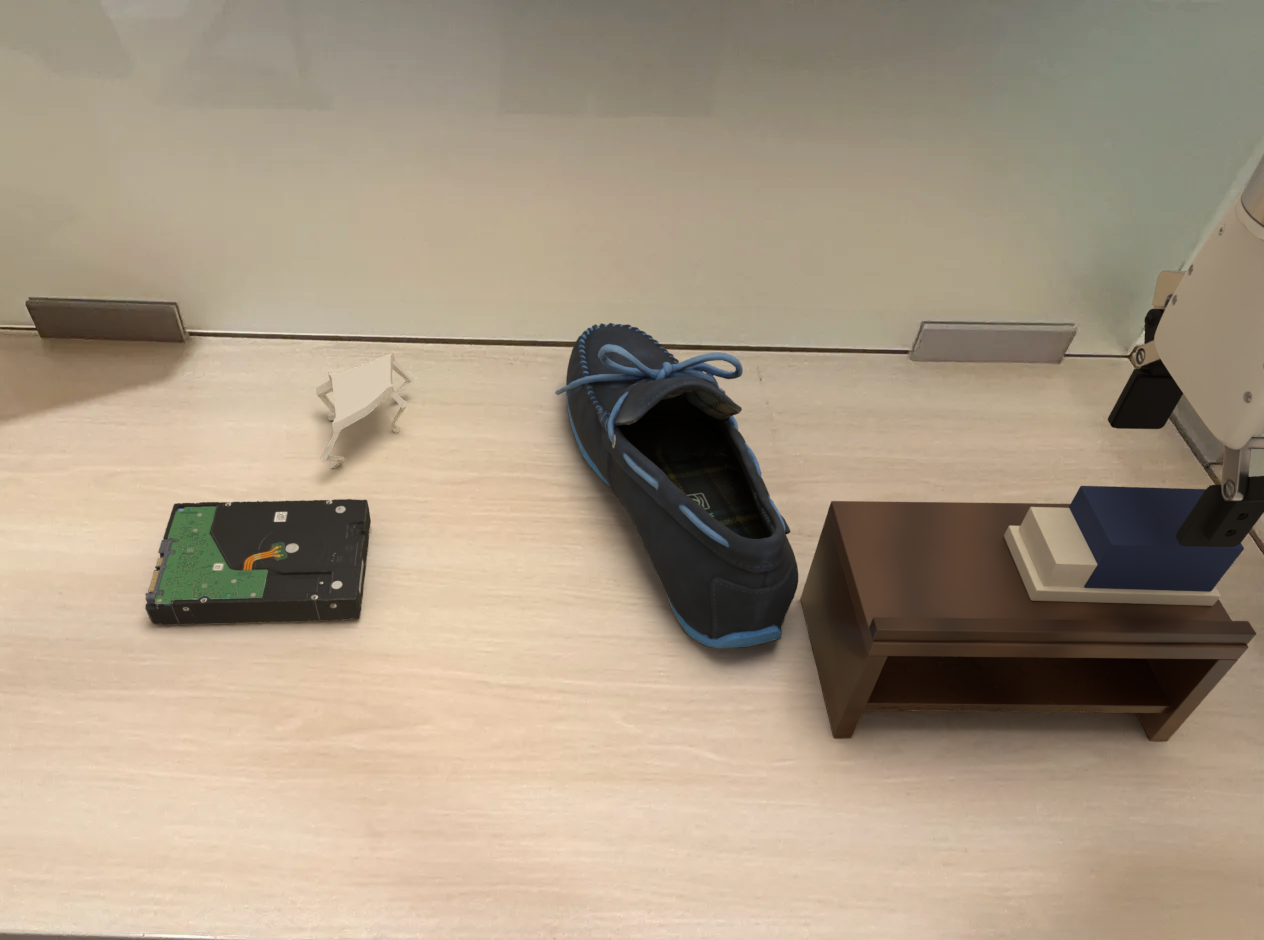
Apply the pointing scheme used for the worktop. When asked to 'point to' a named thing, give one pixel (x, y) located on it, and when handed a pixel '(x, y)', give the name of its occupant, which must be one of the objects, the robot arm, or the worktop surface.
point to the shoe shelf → (990, 626)
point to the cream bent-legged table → (360, 395)
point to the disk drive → (261, 562)
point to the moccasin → (684, 481)
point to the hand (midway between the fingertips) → (1167, 480)
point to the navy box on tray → (1117, 549)
